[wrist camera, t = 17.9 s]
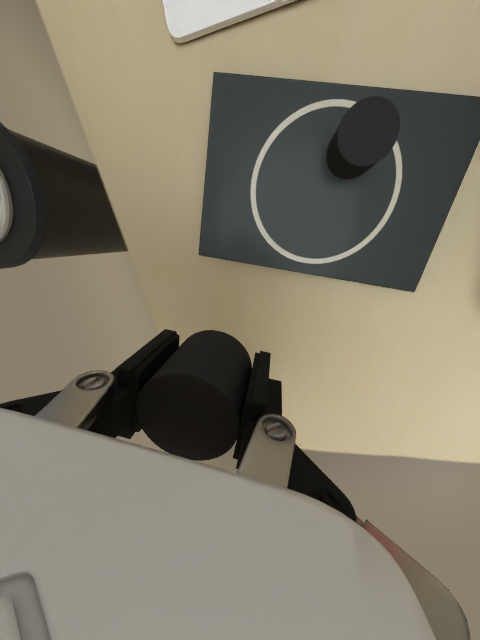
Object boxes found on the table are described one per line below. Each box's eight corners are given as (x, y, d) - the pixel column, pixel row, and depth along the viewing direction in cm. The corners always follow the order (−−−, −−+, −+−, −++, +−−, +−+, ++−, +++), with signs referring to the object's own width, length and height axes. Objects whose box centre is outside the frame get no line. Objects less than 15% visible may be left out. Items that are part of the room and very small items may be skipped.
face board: (201, 254, 25) (197, 255, 24) (216, 79, 20) (212, 69, 19) (409, 290, 23) (415, 292, 22) (486, 105, 18) (500, 96, 17)
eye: (320, 176, 20) (330, 162, 17) (333, 120, 19) (347, 92, 15) (367, 182, 20) (387, 169, 16) (384, 126, 19) (410, 98, 15)
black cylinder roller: (175, 386, 13) (135, 445, 9) (181, 322, 12) (135, 361, 8) (244, 404, 13) (230, 472, 9) (258, 339, 11) (248, 389, 8)
